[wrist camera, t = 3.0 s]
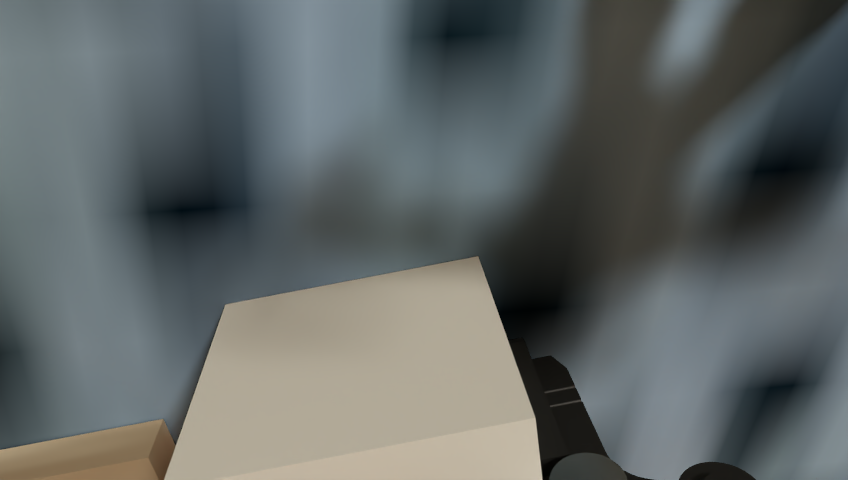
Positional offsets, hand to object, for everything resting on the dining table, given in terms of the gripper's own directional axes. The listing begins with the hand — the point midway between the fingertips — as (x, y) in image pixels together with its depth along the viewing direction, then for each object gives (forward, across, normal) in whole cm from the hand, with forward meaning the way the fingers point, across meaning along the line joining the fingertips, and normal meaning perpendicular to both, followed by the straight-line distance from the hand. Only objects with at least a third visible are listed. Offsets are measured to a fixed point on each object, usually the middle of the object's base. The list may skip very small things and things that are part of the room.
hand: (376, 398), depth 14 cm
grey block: (+1, 0, 0) cm, 1 cm away
